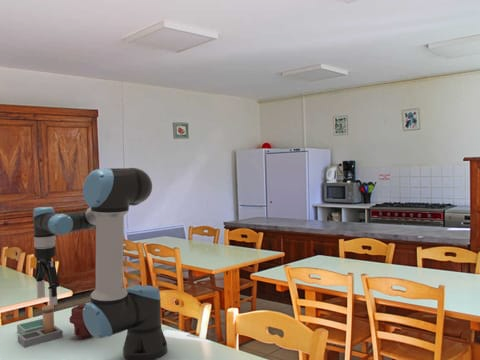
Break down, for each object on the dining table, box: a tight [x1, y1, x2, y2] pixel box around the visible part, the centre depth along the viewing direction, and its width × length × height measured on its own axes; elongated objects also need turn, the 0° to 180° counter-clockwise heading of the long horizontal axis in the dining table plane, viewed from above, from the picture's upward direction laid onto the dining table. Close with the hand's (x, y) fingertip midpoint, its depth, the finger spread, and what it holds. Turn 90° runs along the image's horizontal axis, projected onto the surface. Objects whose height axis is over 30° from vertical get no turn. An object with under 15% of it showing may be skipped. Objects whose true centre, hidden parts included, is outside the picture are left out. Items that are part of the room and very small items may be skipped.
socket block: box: [17, 325, 64, 348], centre depth 174 cm, size 8×14×2 cm, turn 132°
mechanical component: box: [68, 303, 93, 341], centre depth 175 cm, size 12×10×10 cm
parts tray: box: [16, 318, 43, 335], centre depth 182 cm, size 10×10×3 cm
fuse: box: [41, 304, 55, 334], centre depth 176 cm, size 4×4×12 cm
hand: (47, 301), depth 176 cm, fingers open, 13 cm apart
